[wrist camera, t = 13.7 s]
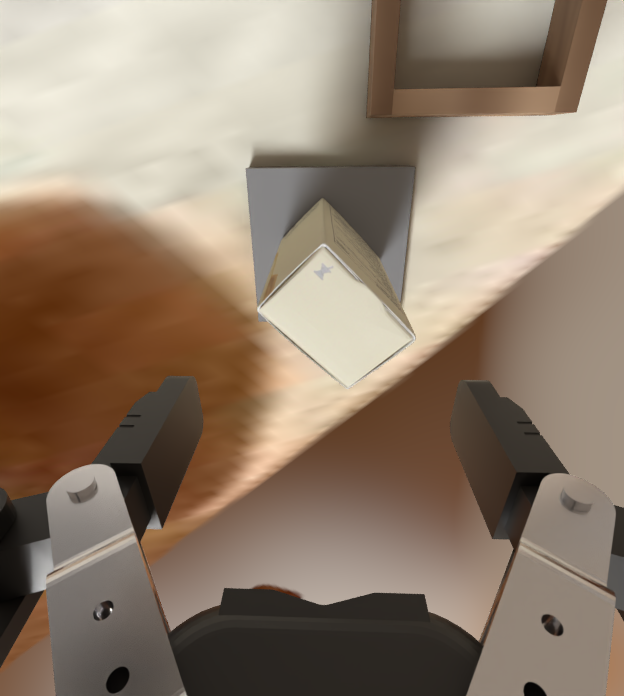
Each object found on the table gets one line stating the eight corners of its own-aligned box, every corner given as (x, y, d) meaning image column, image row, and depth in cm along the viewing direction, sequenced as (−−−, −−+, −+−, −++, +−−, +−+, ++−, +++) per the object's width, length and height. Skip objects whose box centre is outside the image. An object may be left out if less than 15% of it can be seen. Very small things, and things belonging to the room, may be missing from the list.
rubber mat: (261, 315, 31) (258, 321, 30) (249, 167, 26) (245, 168, 25) (395, 316, 31) (398, 322, 30) (411, 166, 25) (415, 166, 24)
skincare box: (279, 240, 27) (246, 306, 16) (323, 194, 25) (318, 234, 15) (340, 301, 29) (347, 395, 18) (384, 262, 27) (420, 340, 17)
